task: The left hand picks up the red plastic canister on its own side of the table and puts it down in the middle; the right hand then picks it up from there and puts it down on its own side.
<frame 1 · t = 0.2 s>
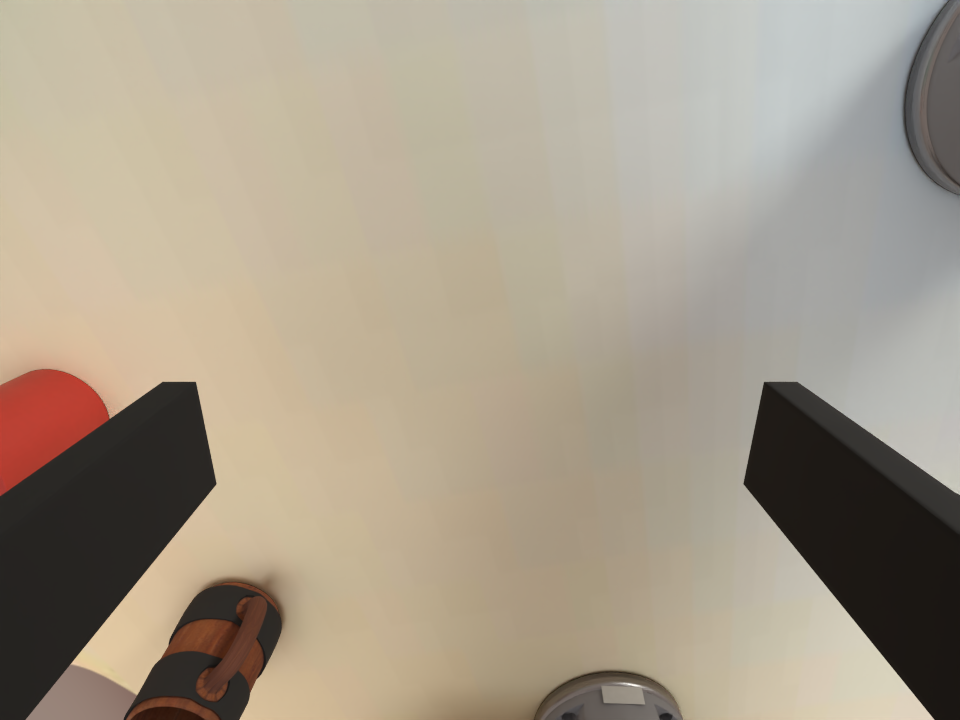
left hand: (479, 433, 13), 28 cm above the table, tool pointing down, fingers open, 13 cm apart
mug: (249, 601, 50), on the table
canister: (59, 414, 43), on the table
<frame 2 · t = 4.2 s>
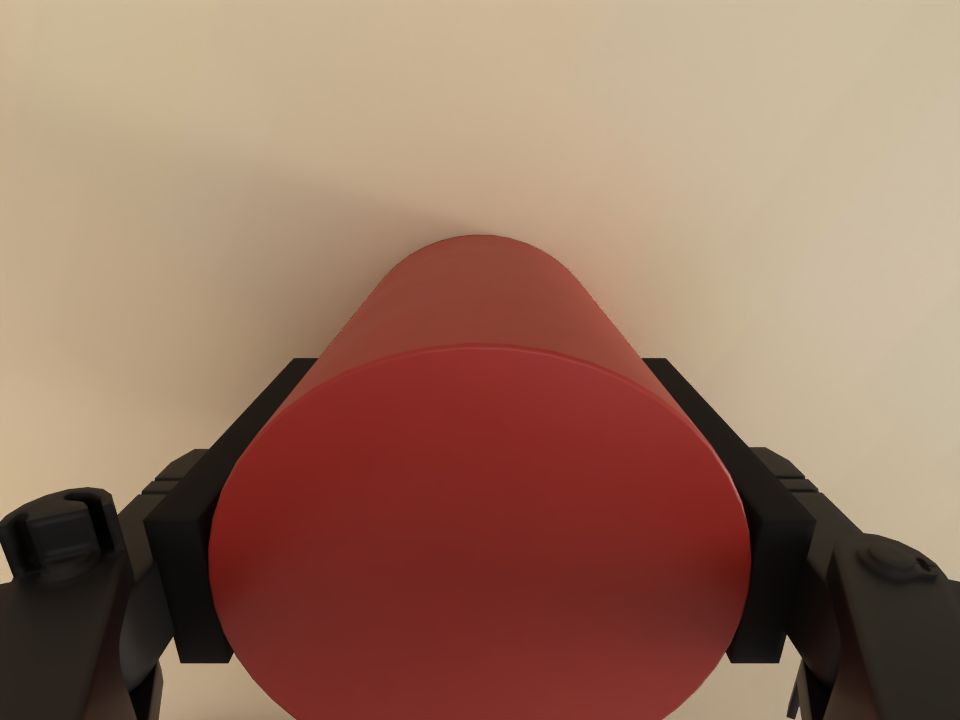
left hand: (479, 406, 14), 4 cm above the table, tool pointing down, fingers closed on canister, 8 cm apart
canister: (479, 359, 17), on the table, touching left hand
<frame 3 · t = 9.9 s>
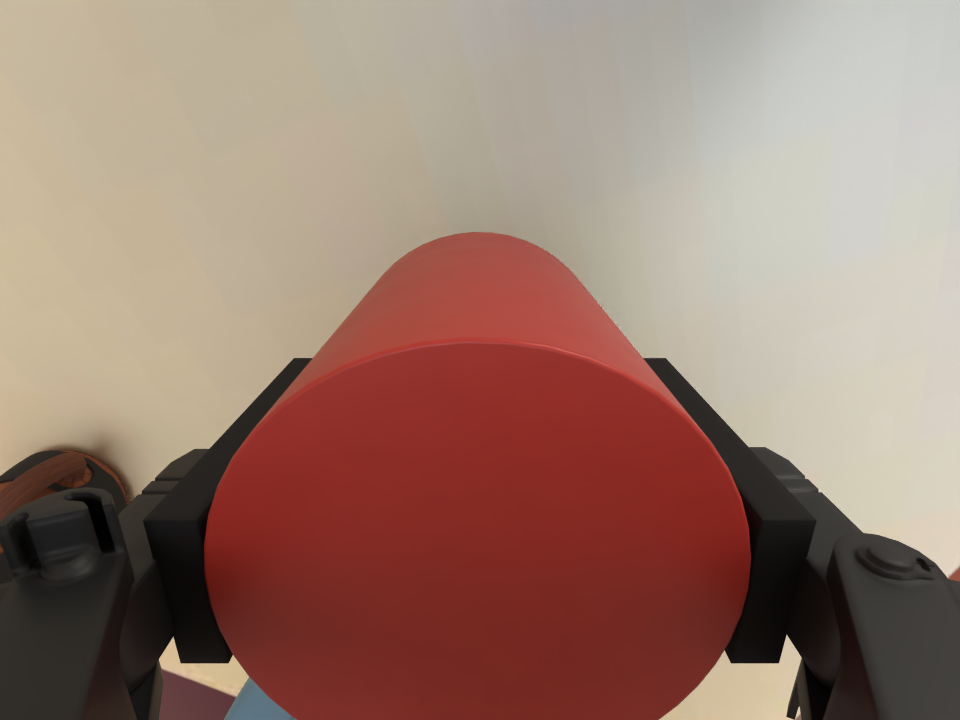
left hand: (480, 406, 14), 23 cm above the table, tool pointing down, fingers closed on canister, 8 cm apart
mug: (86, 475, 42), on the table
canister: (478, 357, 17), point 20 cm above the table, touching left hand
when the left hand's fingers open (5 cm above the table, at t = 15.9 s): canister drops 2 cm, on the table.
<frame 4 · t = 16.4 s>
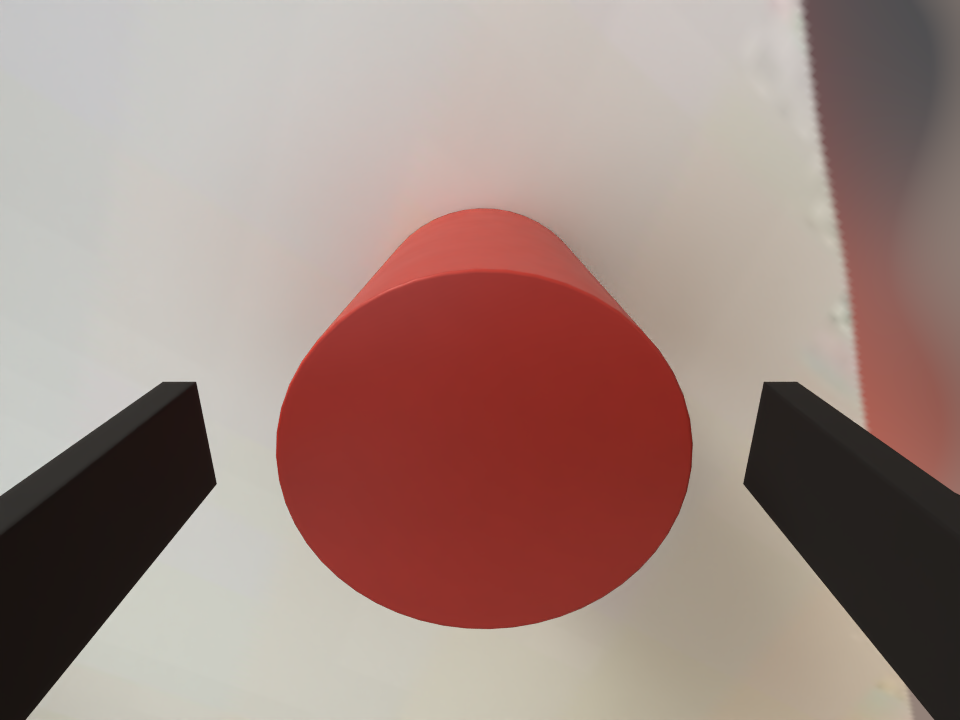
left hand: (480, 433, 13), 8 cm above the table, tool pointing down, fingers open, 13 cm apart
canister: (483, 320, 20), on the table
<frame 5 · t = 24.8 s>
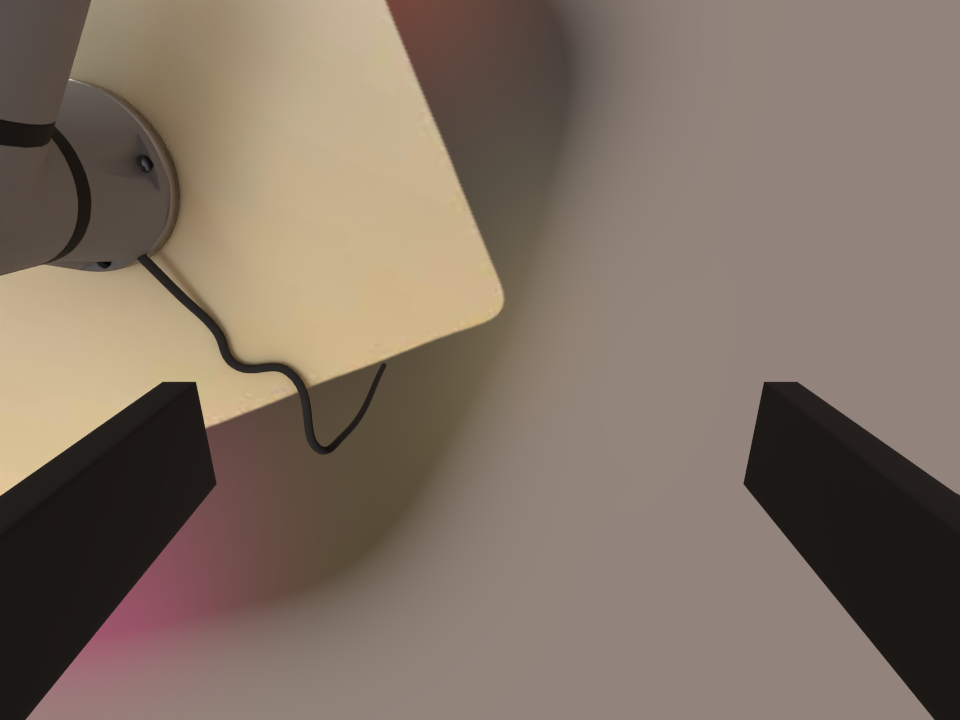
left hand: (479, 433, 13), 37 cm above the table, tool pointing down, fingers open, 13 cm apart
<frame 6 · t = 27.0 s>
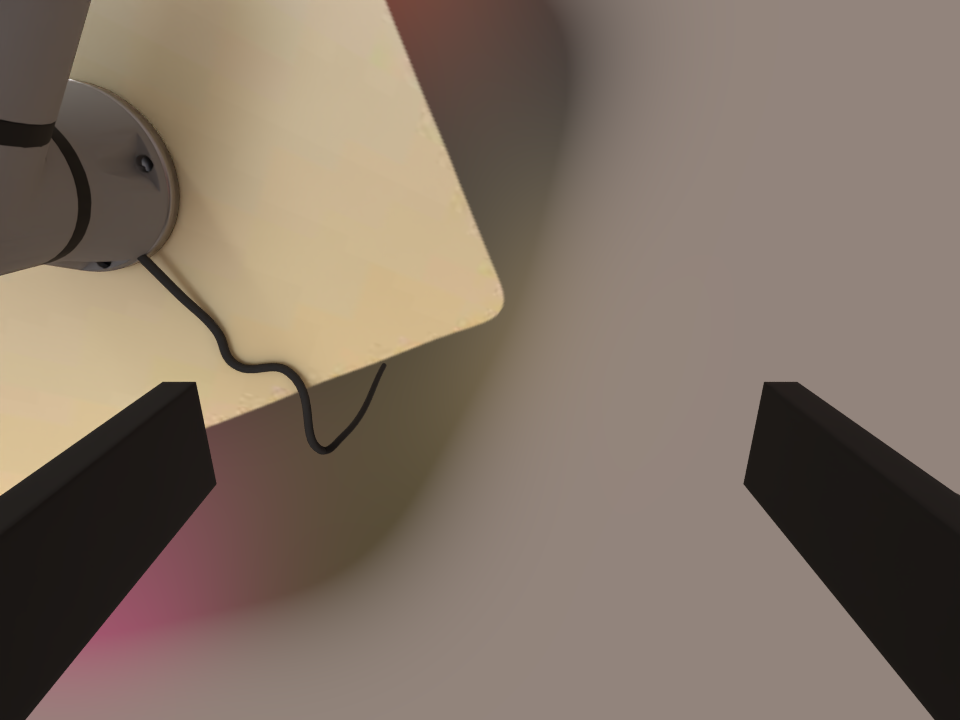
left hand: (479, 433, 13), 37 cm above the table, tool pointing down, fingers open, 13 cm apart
when the right hand's fingers open (5 cm above the table, at t = 29.1 s): canister drops 2 cm, on the table.
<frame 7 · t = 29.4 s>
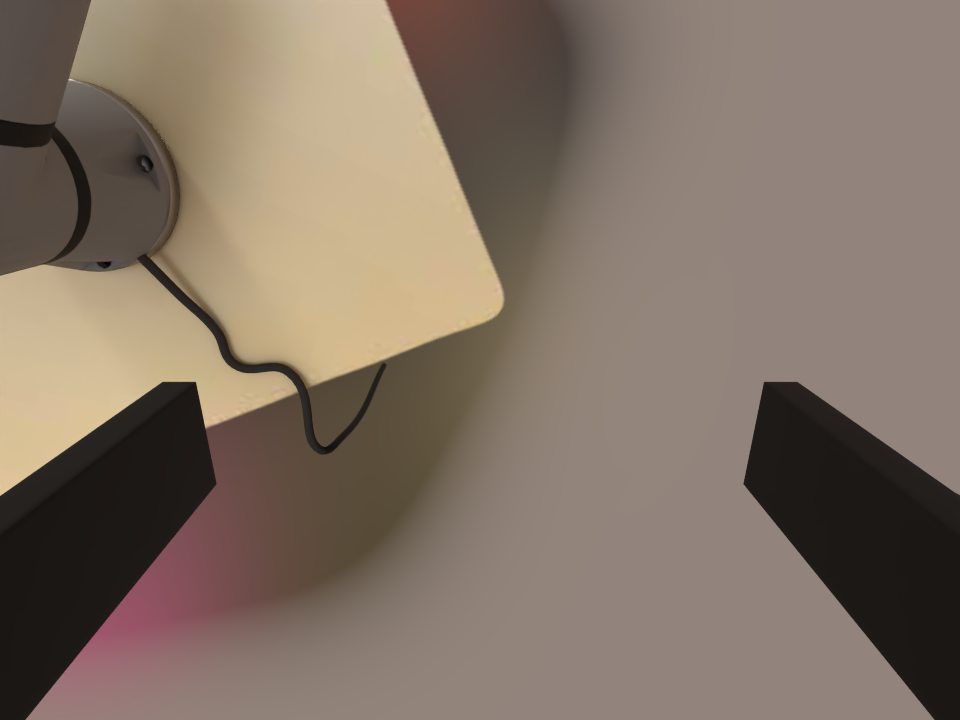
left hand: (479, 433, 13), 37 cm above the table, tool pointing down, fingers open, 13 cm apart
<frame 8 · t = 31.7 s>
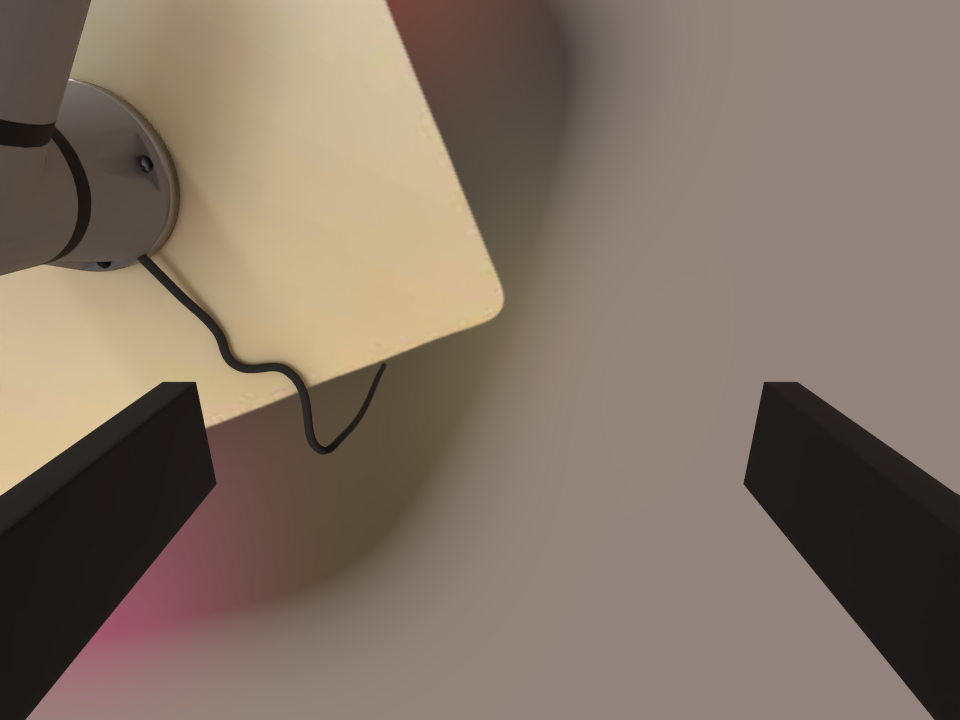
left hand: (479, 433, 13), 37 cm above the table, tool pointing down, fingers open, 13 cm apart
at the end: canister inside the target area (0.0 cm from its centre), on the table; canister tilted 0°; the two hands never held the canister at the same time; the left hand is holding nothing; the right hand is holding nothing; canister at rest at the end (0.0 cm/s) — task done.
